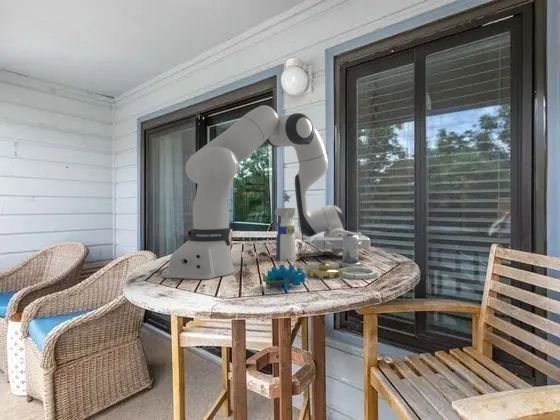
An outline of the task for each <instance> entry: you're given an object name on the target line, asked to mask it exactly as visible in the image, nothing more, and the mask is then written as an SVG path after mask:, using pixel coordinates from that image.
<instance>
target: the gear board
mask: <svg viewBox="0 0 560 420" xmlns="http://www.w3.org/2000/svg"><path fill="white" fill-rule="evenodd" d="M319 264H320V263H318V264H303V266H304V270H305V274H306V278H307V279H308V280H356V279H355V278H353V279H352V278H347V277H343V276H342V273H341V275H340V277H334V278H323V279H322V278H317V277H310V275H308V274H307V269H309V268H310V267H315V266H319ZM329 264H330V263H329ZM330 267H337V268H338V269H341V268H342V267H339V263H337V264H336V263H334V264H333V263H331V264H330ZM362 267H365V268H369V267H368V266H367V265H366V264H365V263H362ZM345 273H350V274H369V273H370V272H364V271H347V272H345ZM377 279H379V280H381V279H382V278H381V277H380V276H379V275H378V274H377V276H376V277H373V278H369V279H368V280H377Z"/></svg>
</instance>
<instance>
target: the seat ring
mask: <svg viewBox="0 0 560 420" xmlns="http://www.w3.org/2000/svg"><path fill="white" fill-rule="evenodd" d="M347 271H364V272H370V273H369V274H350V273H345V272H347ZM341 273H342V276H343V277H347V278H352V279H351V280H370V279H369V278H373V277H376V276H377V275H378V271H377V270H375V269H374V268H370V267H368V268H365V267H345V268H341ZM353 278H355V279H353Z"/></svg>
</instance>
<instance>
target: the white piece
mask: <svg viewBox="0 0 560 420" xmlns="http://www.w3.org/2000/svg"><path fill="white" fill-rule="evenodd" d="M281 198H283V203H286V202H288V203H290V200H289V199H290V198H292V196H290V195H288V194H287V193H285V195H282V196H281ZM274 215H276V216H277V223H276V224H275V225H276V226H277V227H276V228H277V229H276V230H277V232H276V233H277V234H276V237H275V238H276V239H275V242H276V244H275V245H276V247H275V248H276V249H275V250H276V251H275V261H277V262H287V261H288V260H290V259H295V258H296V257H297V251H296V249H297V246H296V234H295V225H296V223H295V222H294V218H296V217H298V212H297V207H296V208H294V207H283V208H282V207H280V208H279V207H277V208H275V210H274Z"/></svg>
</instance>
